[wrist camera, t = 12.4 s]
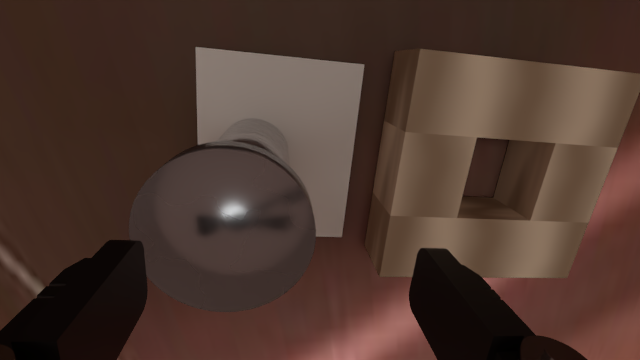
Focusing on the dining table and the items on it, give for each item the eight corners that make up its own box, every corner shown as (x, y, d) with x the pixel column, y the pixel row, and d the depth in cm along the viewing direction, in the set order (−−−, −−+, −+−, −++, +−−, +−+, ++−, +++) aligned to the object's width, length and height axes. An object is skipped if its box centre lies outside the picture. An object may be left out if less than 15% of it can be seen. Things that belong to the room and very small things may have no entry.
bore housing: (586, 72, 23) (646, 74, 20) (527, 248, 28) (566, 278, 24) (394, 51, 21) (420, 48, 17) (364, 245, 26) (379, 276, 22)
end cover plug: (304, 109, 21) (324, 156, 10) (297, 197, 23) (308, 312, 12) (205, 101, 20) (120, 142, 10) (206, 193, 22) (136, 311, 12)
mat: (362, 64, 21) (364, 64, 21) (340, 233, 25) (341, 237, 24) (197, 47, 20) (195, 46, 19) (201, 229, 24) (199, 233, 23)
